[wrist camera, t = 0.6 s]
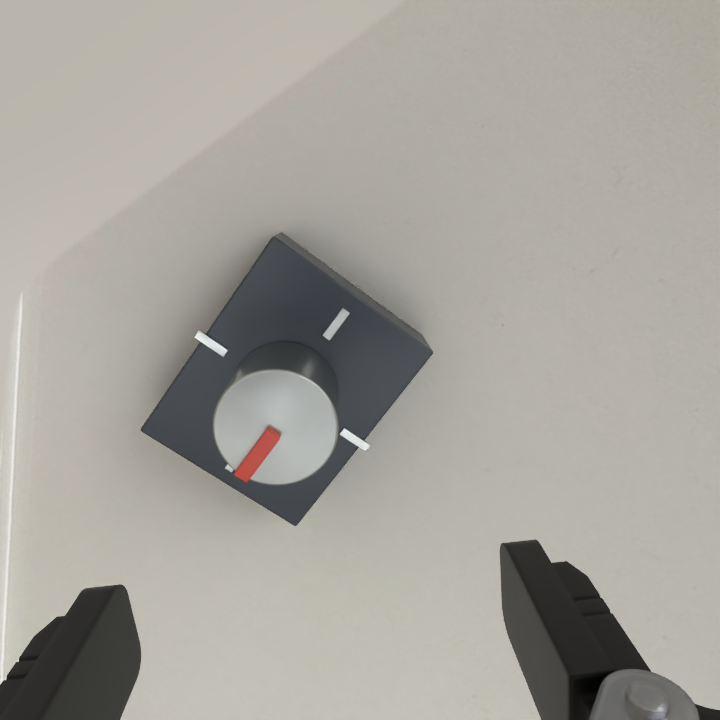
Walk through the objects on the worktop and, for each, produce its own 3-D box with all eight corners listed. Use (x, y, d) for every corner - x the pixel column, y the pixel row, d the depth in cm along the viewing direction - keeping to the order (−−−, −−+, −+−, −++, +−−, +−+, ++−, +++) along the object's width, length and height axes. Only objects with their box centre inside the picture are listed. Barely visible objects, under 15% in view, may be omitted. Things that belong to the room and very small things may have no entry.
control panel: (275, 227, 25) (266, 231, 22) (428, 339, 27) (440, 357, 24) (154, 402, 27) (131, 428, 24) (304, 497, 29) (301, 532, 26)
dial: (271, 319, 23) (257, 346, 19) (359, 381, 24) (364, 419, 20) (211, 403, 24) (185, 446, 20) (298, 459, 25) (290, 512, 21)
